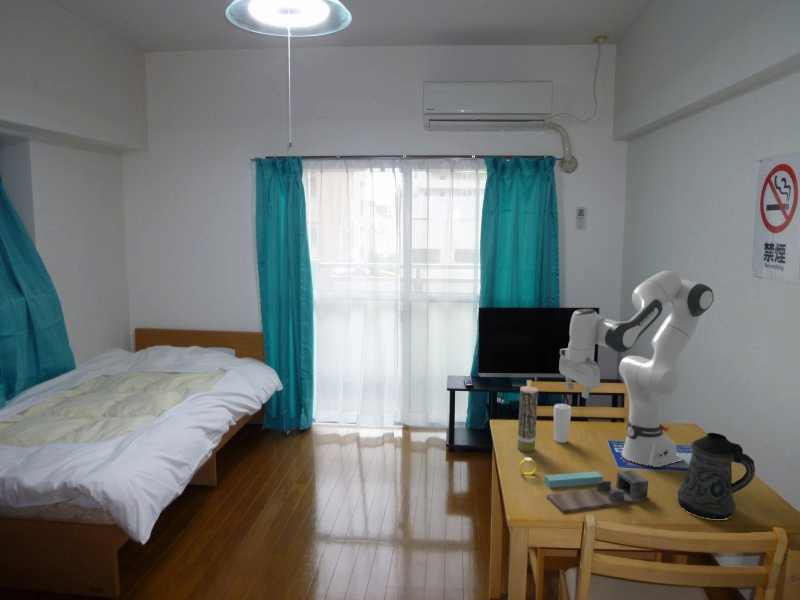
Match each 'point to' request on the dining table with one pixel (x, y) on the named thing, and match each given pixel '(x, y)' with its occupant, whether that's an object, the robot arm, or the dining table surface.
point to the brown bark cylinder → (527, 418)
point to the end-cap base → (604, 494)
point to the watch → (527, 461)
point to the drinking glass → (561, 422)
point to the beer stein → (713, 477)
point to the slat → (572, 479)
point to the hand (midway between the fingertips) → (577, 393)
